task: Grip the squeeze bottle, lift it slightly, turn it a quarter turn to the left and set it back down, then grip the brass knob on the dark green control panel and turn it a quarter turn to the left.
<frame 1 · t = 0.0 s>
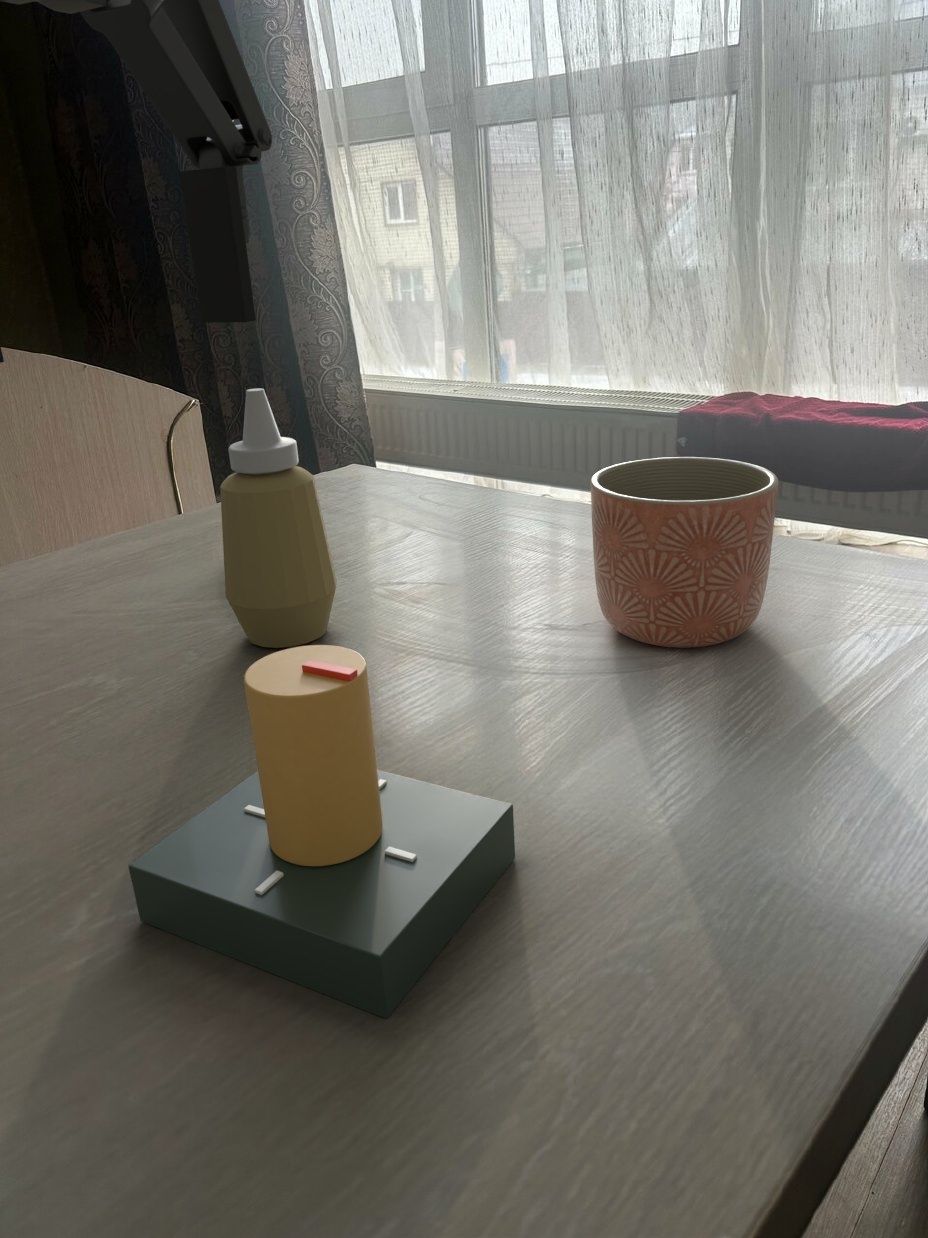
hand: (117, 340, 40), 24 cm above the table, tool pointing down, fingers open, 13 cm apart
planter: (677, 628, 70), on the table
squeeze bottle: (288, 637, 72), on the table
panel: (333, 889, 44), on the table
dial: (315, 750, 41), point 7 cm above the table, hinge at 0.0°
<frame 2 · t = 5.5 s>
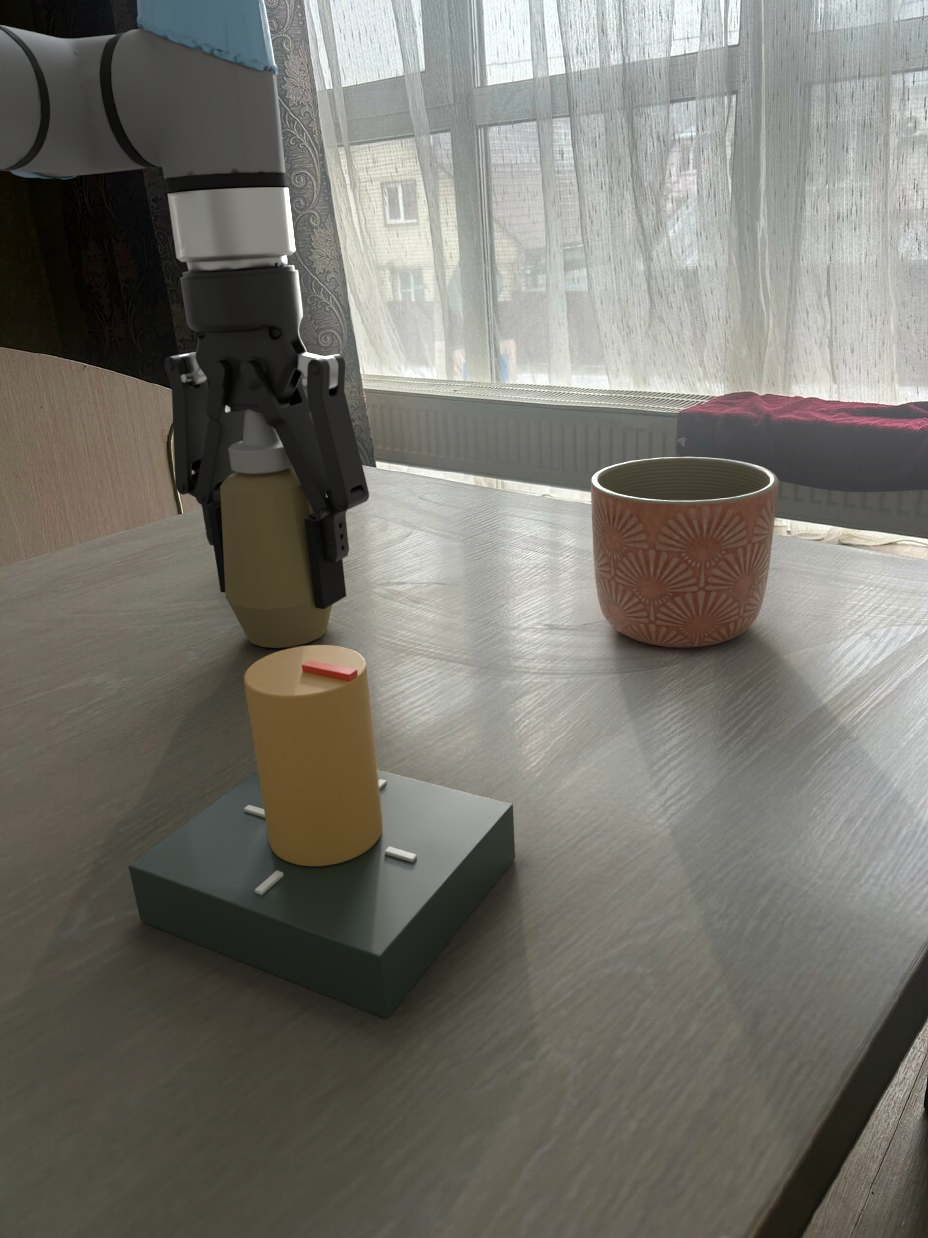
hand: (282, 593, 71), 3 cm above the table, tool pointing down, fingers closed on squeeze bottle, 8 cm apart
squeeze bottle: (288, 637, 72), on the table, touching gripper
everything else where it was.
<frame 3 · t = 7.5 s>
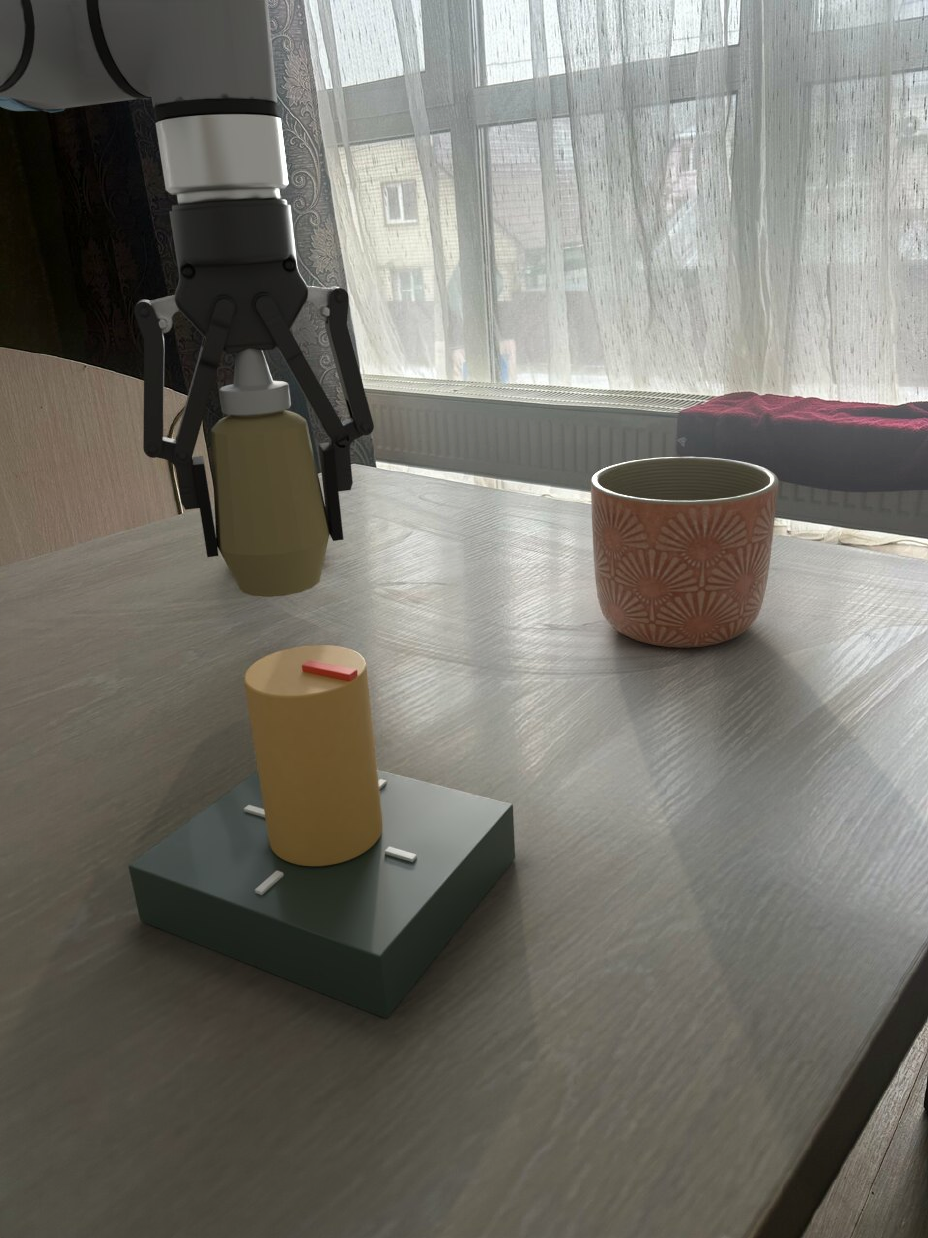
hand: (274, 542, 69), 7 cm above the table, tool pointing down, fingers closed on squeeze bottle, 8 cm apart
squeeze bottle: (280, 587, 71), point 4 cm above the table, touching gripper
everything else where it was.
when the fingers open (3 cm above the table, at t = 9.9 s): squeeze bottle stays where it is, on the table.
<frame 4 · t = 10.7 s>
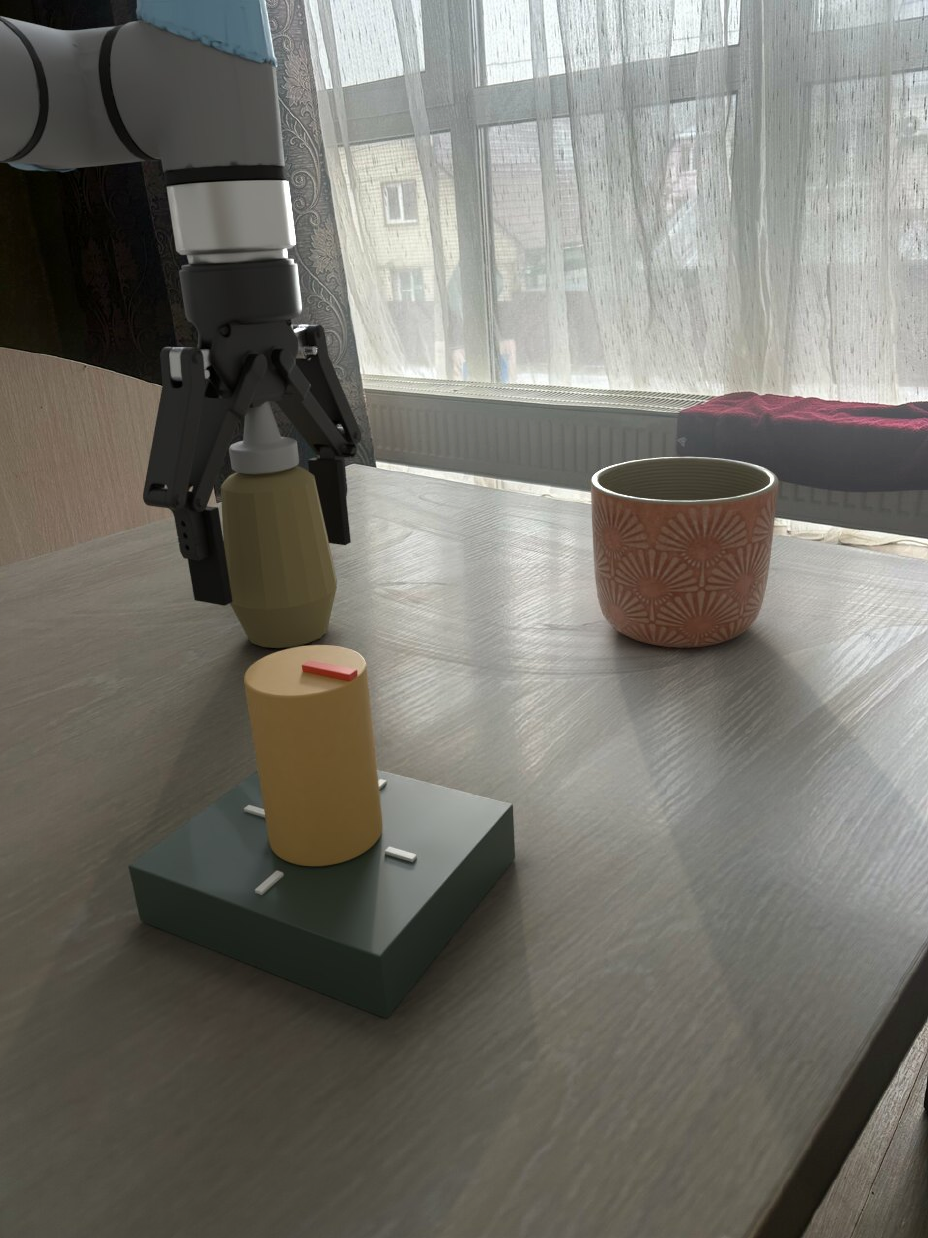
hand: (278, 569, 70), 5 cm above the table, tool pointing down, fingers open, 13 cm apart
squeeze bottle: (289, 637, 72), on the table
everything else where it was.
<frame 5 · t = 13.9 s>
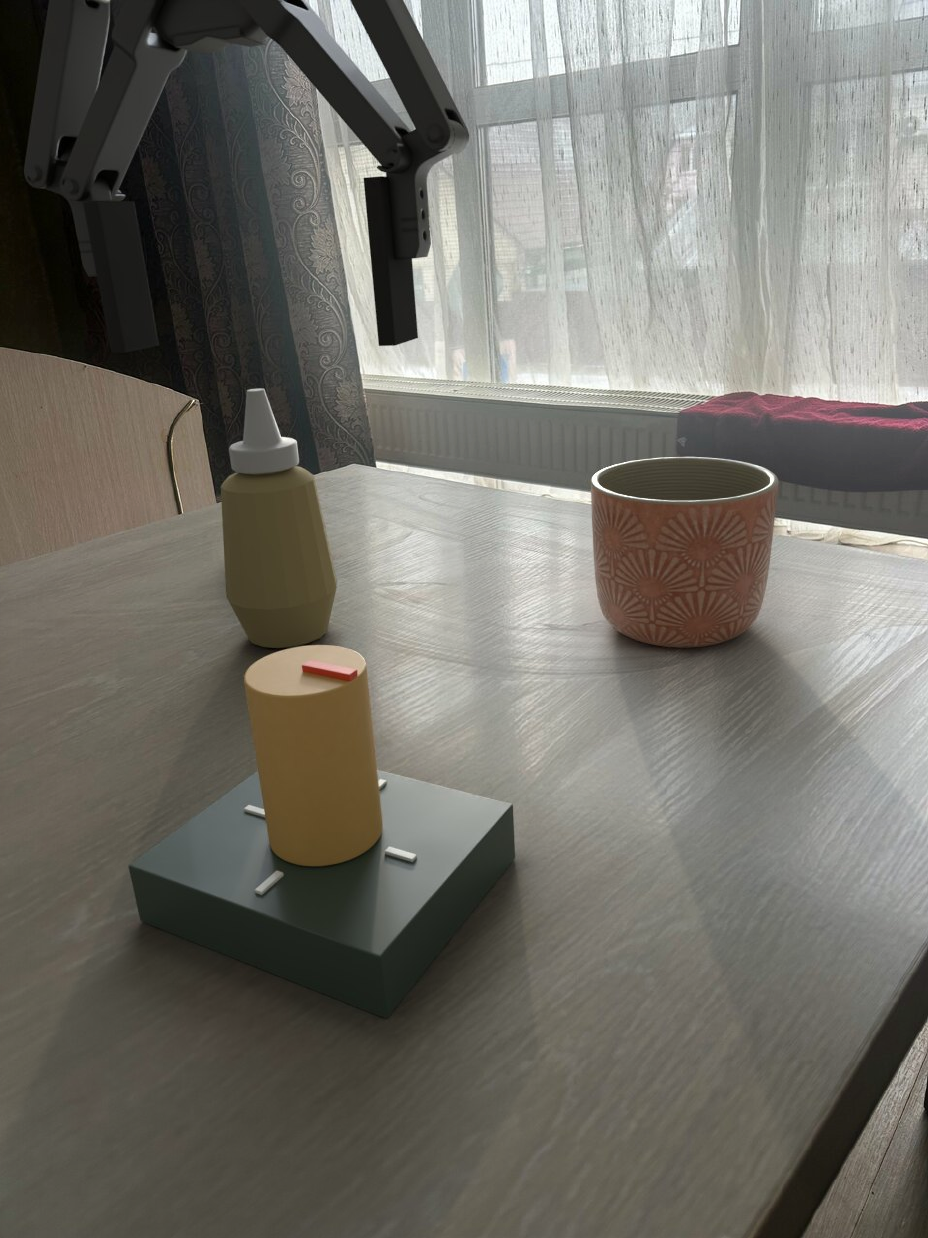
hand: (261, 346, 44), 23 cm above the table, tool pointing down, fingers open, 13 cm apart
nothing on the table moved.
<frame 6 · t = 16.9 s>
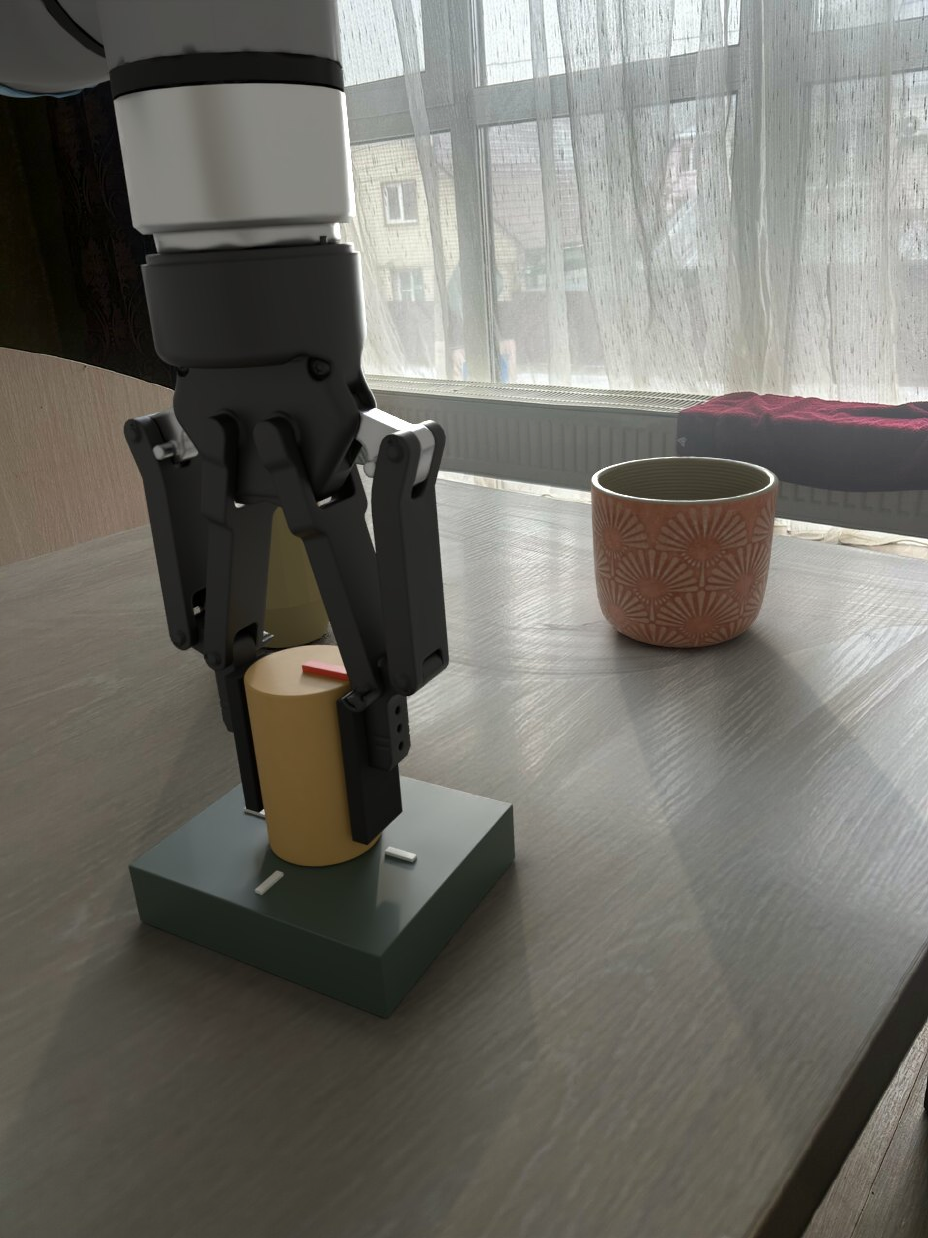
hand: (323, 809, 42), 4 cm above the table, tool pointing down, fingers closed on dial, 5 cm apart
dial: (315, 750, 41), point 7 cm above the table, hinge at 0.0°, touching gripper
everything else where it was.
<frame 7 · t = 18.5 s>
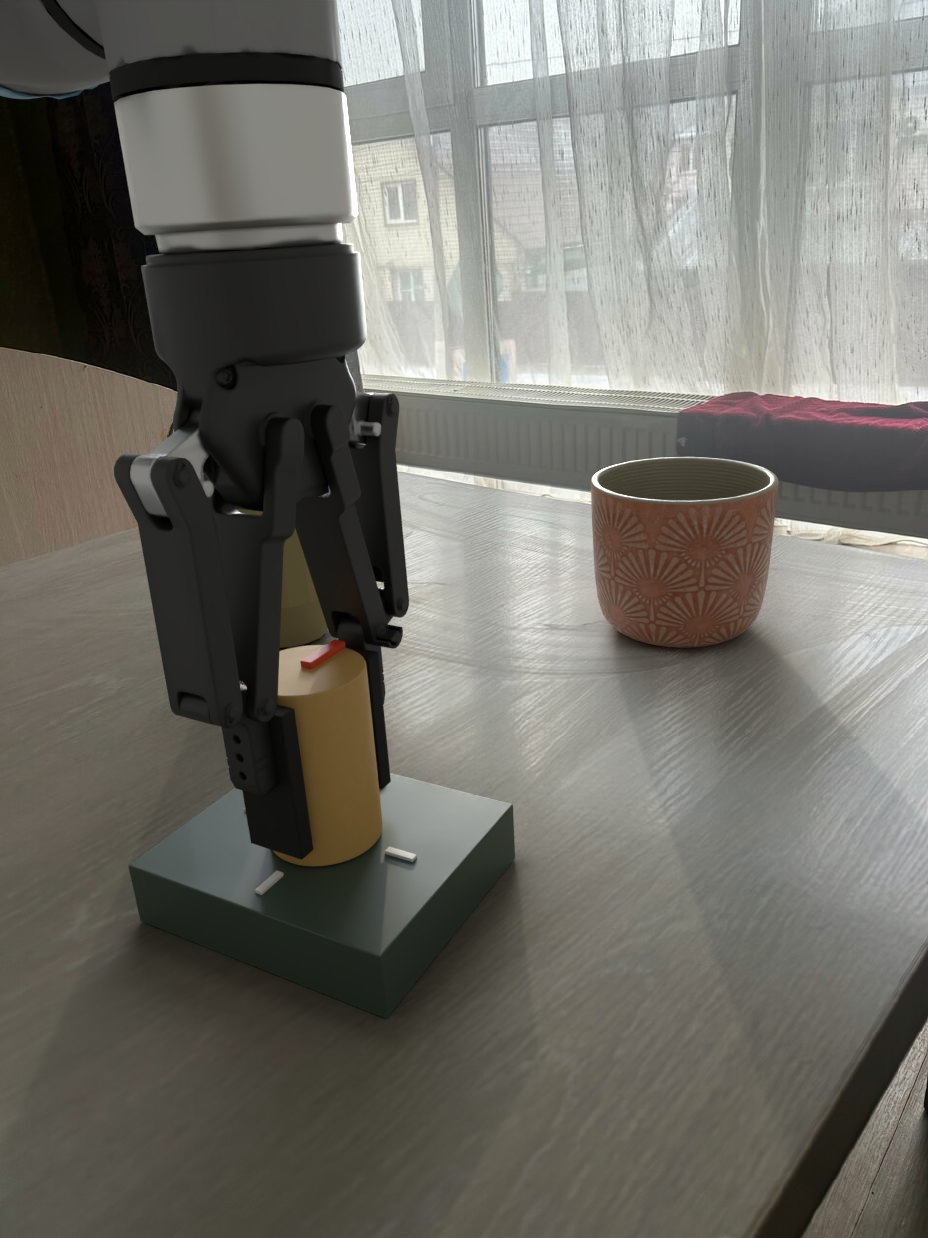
hand: (324, 810, 42), 4 cm above the table, tool pointing down, fingers closed on dial, 5 cm apart
dial: (315, 750, 41), point 7 cm above the table, hinge at 89.5°, touching gripper
everything else where it was.
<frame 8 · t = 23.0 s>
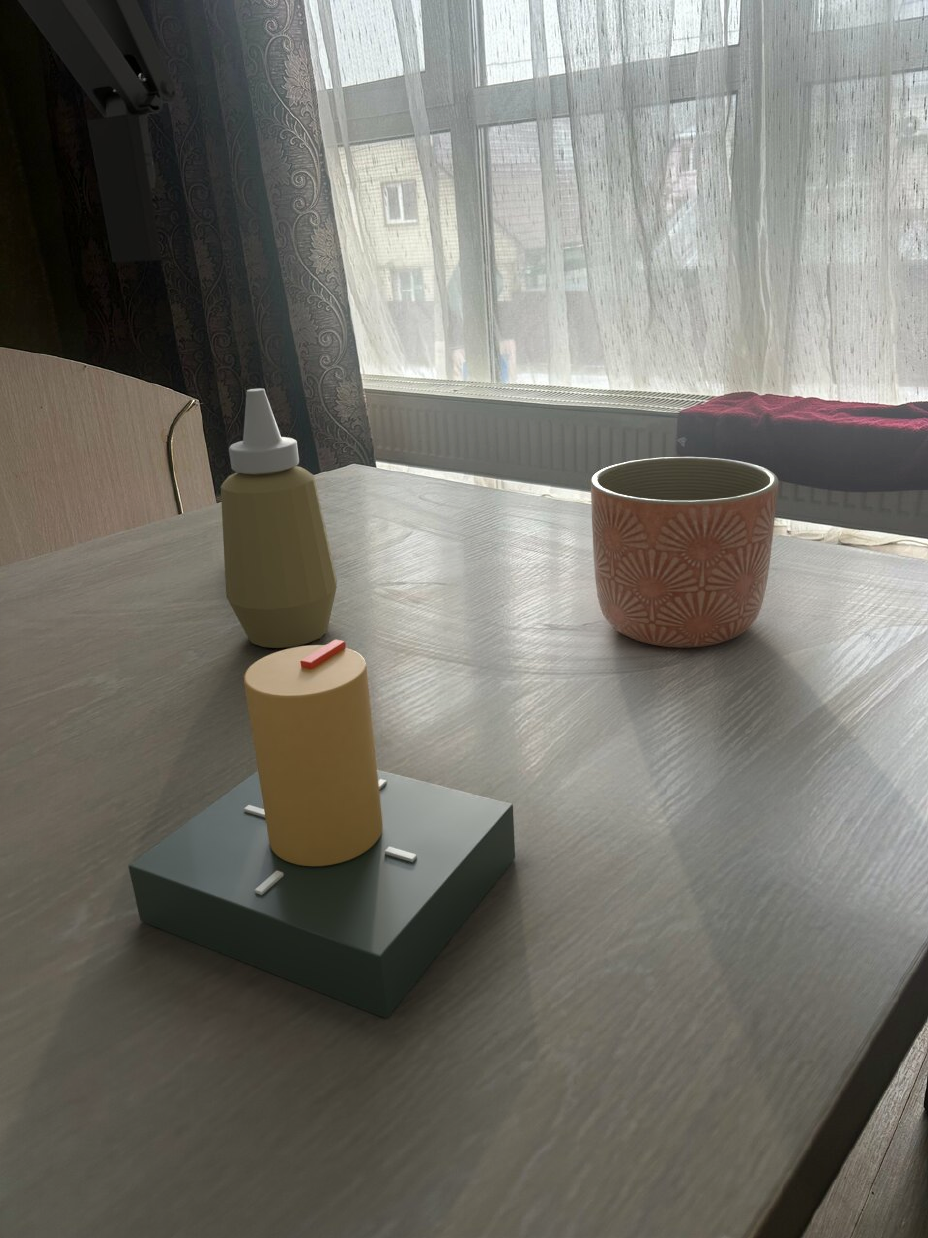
hand: (23, 271, 44), 27 cm above the table, tool pointing down, fingers open, 13 cm apart
dial: (315, 750, 41), point 7 cm above the table, hinge at 89.2°
everything else where it was.
at the end: dial at +89° (first picture: +0°); squeeze bottle tilted 0°; squeeze bottle moved 0.2 cm from its start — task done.
